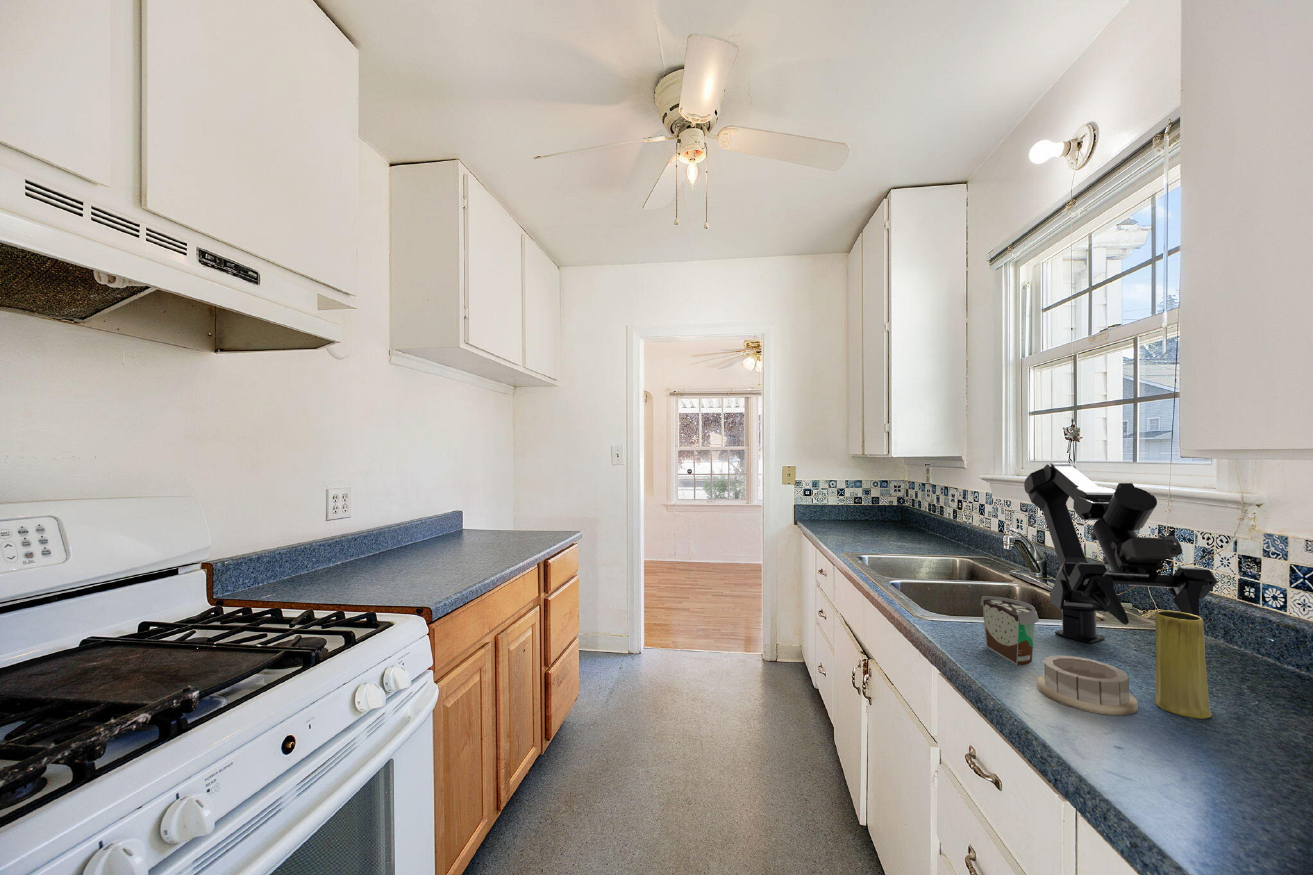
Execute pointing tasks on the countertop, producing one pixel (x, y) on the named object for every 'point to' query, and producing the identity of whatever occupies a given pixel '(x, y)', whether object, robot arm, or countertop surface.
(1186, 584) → the robot arm
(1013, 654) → the food container
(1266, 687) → the countertop surface
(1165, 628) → the vase
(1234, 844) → the countertop surface
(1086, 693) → the collar stand
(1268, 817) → the countertop surface
